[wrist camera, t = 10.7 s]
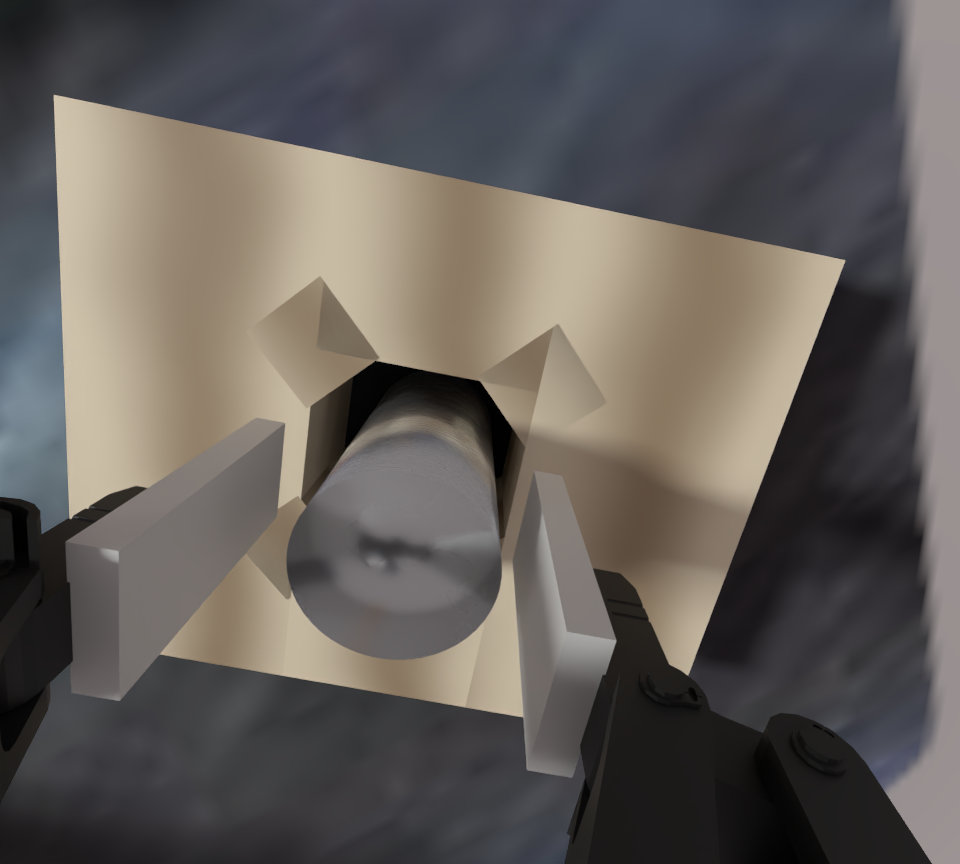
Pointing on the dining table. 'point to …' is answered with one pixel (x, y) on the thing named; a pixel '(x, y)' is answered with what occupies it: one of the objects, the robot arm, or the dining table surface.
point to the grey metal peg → (404, 526)
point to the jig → (417, 365)
